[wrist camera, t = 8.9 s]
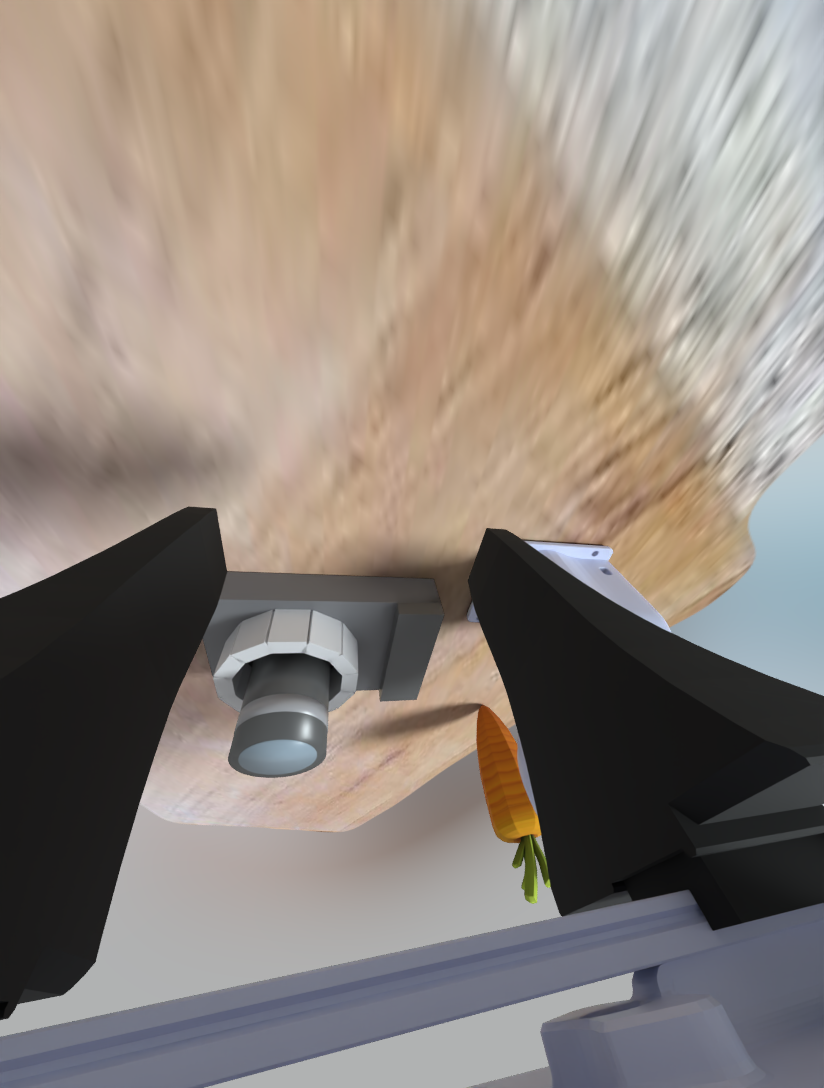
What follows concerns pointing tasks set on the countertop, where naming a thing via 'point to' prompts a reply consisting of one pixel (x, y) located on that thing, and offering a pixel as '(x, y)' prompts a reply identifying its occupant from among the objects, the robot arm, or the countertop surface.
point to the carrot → (509, 798)
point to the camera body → (326, 630)
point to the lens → (282, 716)
